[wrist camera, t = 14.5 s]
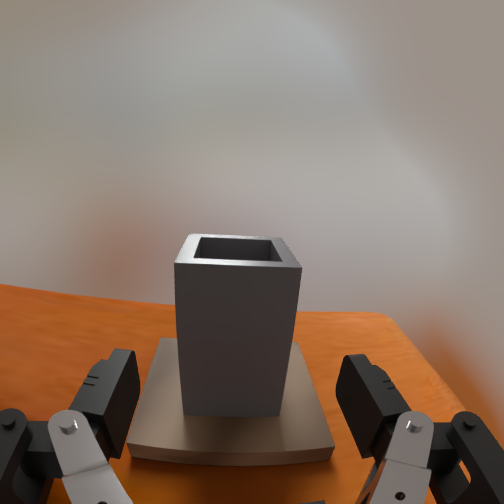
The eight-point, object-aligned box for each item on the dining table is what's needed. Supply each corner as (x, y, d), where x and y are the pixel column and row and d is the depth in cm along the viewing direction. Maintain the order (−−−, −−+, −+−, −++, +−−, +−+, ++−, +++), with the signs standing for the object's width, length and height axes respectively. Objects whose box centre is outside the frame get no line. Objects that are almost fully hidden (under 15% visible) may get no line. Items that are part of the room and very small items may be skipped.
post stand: (131, 456, 14) (99, 344, 12) (162, 351, 26) (156, 260, 23) (329, 459, 15) (368, 352, 13) (295, 355, 27) (308, 267, 24)
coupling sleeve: (183, 414, 17) (174, 262, 14) (191, 360, 22) (189, 233, 20) (279, 416, 17) (302, 267, 14) (268, 362, 23) (281, 237, 20)
